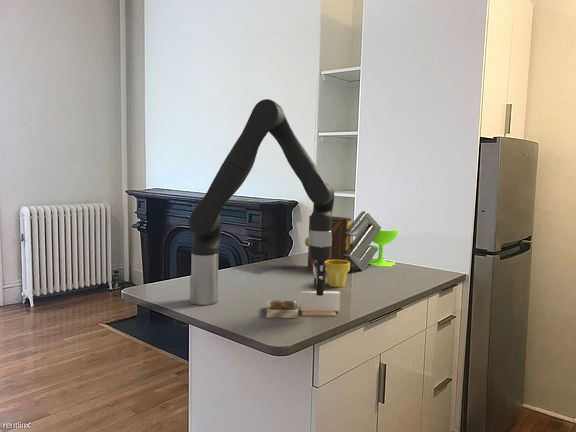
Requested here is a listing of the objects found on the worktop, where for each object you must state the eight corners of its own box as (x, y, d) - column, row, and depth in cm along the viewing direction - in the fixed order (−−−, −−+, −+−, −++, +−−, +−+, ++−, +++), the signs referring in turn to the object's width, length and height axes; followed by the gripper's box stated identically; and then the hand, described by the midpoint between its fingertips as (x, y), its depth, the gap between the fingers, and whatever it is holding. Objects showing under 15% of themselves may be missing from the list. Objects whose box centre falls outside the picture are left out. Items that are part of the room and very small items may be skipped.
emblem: (370, 265, 242) (372, 209, 239) (379, 267, 239) (382, 210, 236) (338, 274, 221) (341, 212, 218) (348, 276, 217) (351, 213, 214)
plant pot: (318, 285, 200) (319, 261, 199) (334, 281, 207) (334, 258, 206) (338, 290, 193) (339, 265, 192) (354, 285, 200) (355, 262, 199)
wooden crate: (351, 271, 227) (353, 218, 224) (343, 275, 220) (345, 219, 217) (310, 265, 238) (311, 214, 236) (301, 268, 231) (302, 215, 229)
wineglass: (383, 268, 235) (384, 231, 233) (357, 263, 247) (359, 227, 245) (402, 265, 246) (404, 229, 244) (377, 259, 258) (379, 225, 256)
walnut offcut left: (270, 313, 158) (271, 302, 157) (270, 311, 160) (271, 300, 160) (281, 313, 158) (281, 302, 157) (281, 311, 160) (281, 300, 160)
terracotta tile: (302, 315, 159) (302, 313, 159) (300, 306, 169) (300, 305, 169) (336, 316, 159) (336, 314, 159) (332, 307, 169) (332, 305, 169)
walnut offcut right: (283, 313, 158) (283, 303, 157) (283, 311, 160) (283, 300, 160) (293, 313, 158) (294, 303, 158) (293, 311, 160) (293, 301, 160)
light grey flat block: (339, 311, 163) (300, 310, 162) (338, 308, 165) (300, 308, 165) (340, 293, 162) (301, 292, 162) (339, 291, 165) (300, 290, 164)
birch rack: (266, 317, 156) (266, 310, 156) (266, 307, 167) (267, 300, 167) (298, 318, 156) (298, 310, 156) (296, 307, 167) (296, 301, 167)
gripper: (307, 240, 169) (305, 286, 170) (310, 247, 154) (308, 297, 156) (329, 240, 169) (327, 286, 171) (334, 247, 155) (332, 298, 156)
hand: (318, 291), depth 163 cm, fingers open, 8 cm apart
